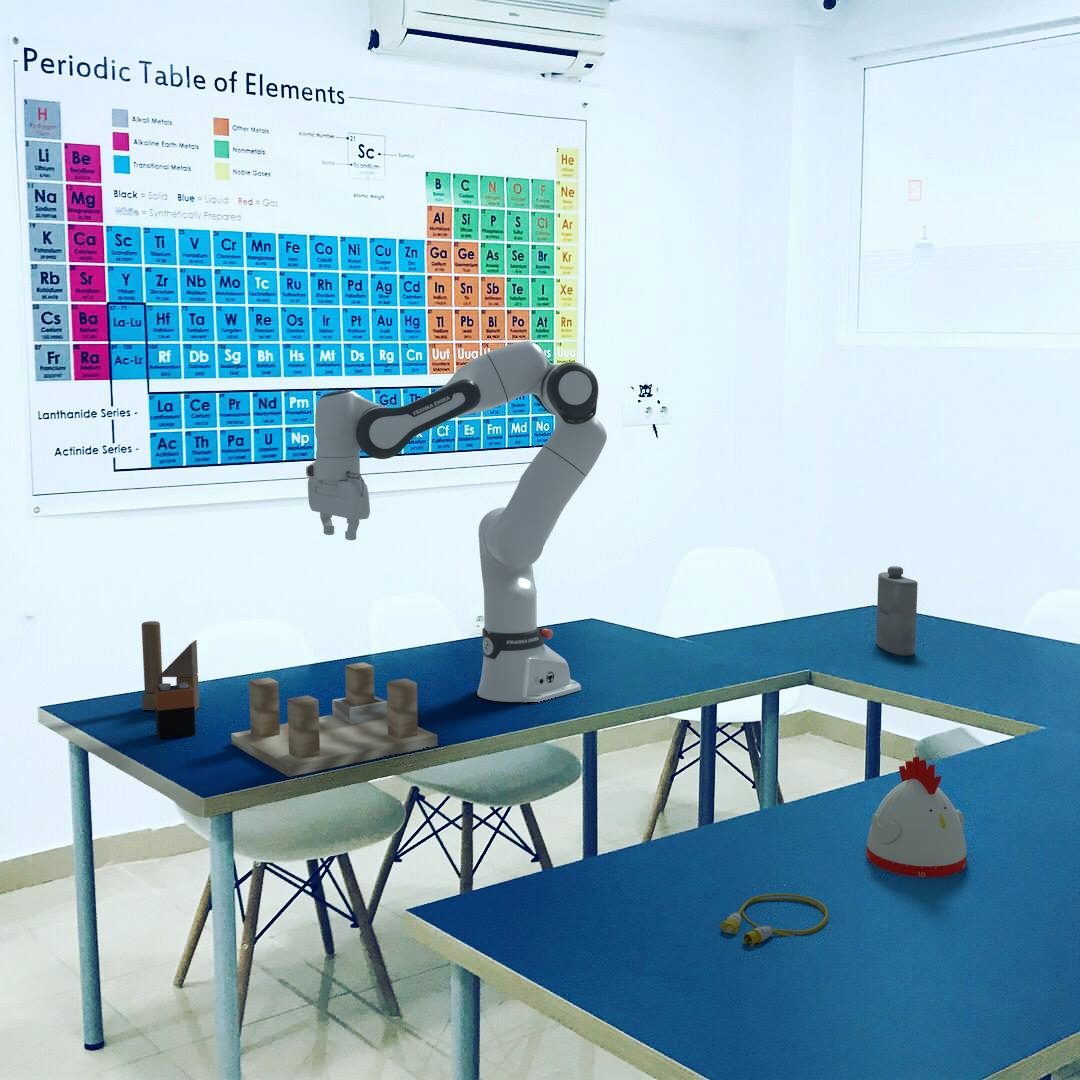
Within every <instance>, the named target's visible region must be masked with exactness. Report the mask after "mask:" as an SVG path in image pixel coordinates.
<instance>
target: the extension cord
mask: <svg viewBox="0 0 1080 1080" xmlns="http://www.w3.org/2000/svg"><path fill="white" fill-rule="evenodd" d="M778 900H779V901H780V900H781V901H782V900H783V901H784V900H785V901H786V900H787V901H797V902H802V903H803V902H804V903H806V904H810V905H813V906H814V907H816V908H817V909H818V910H820V911H821V912H822V913H823V914H824V918H823V920H821V922H820V923H818V924H817V925H816V926H813V927H811V928H807V929H803V930H802V929H801V930H794V929H776V928H773V927H772V926H770V925H766V924H763V925H762V926H760V925H758V924H757V923H755V922H754V921H752V920H750V919H749V918H748V916H747V915H746V914H745V911H744V910H745V908H746V907H747V905H749V904H752V903H755V902H762V901H763V902H764V901H778ZM742 918H743V919H745V921H747V922H748V923H749V924H751V925H752V926H753V927H755V928H753V929H751V930H750V931H749V932H746V933H744V934H743V936H742V937H743V938H742V939H743V942H744V944H745V945H748V944H749V946H751V947H753V946H755V944H761V943H762V942H765V941H766V940H767V939H768V938H769V937H771V936H773V935H774V934H776V935H779V936H783V937H794V936H796V935H807V934H813V933H815V932H817V931H819V930H820V929H821V928H823V927H824V926H826V924H827V922H829V911H828V908H827V907H826V905H825V904H824V903H822V902H821V901H819V900H817V899H815V898H812V897H809V896H804V895H799V894H793V893H769V894H768V893H767V894H761V895H756V896H754V897H751V898H750V899H748V900H746V901H745V902H744V903H743V904H742V906H741V907H740V909H739V911H738V912H733V913H730V914H729V916H727V919H726V920H723V921H722V922H721V924H720V928H721V929H722V931H723V933H726V934H732V935H737V933H738V932H739V930H740V927H741V924H742ZM791 933H792V934H791Z"/></svg>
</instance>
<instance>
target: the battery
mask: <svg viewBox="0 0 1080 1080" xmlns="http://www.w3.org/2000/svg"><path fill="white" fill-rule="evenodd" d="M154 712H155V729H156V730H155V731H156V734H157V736H158V738H159V739H161V740H164V739H163V738H167V739H173V738H172V737H176V738H181V737H182V736H184V737H191V735H192V736H195V735H196V733H197V732H196V731H197V730H196V728H197V727H196V710H195V704H194V690H193V688H192V687H191V686H190V685H188V683H185V682H184V683H179V685H171V683H166V682H165V683H164V682H163V684H160V687H158V688H155V711H154ZM182 738H183V737H182Z"/></svg>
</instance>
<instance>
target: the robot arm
mask: <svg viewBox="0 0 1080 1080" xmlns="http://www.w3.org/2000/svg"><path fill="white" fill-rule="evenodd" d="M527 395H532V396H533V398H534V399H535V400H536V401H537V402H538V403H539V405H540V406H541V407H542V408H543V409H544V411H547V412H548V413H549V414H550V415H553V416H555V417H556V418H555V419H556V422H555V427H554V429H553V431H552V432H551V434H550V436H549V438H548V439H547V440H546V442H545V443H544V444H543V446H542V447H541V449H540V450H539V451H538V453H537V454H536V455H535V456H534V458H533V459H532V461H531V463H529V465H528V466H527V468H526V469H525V470H524V472H523V473H522V475H521V477H520V479H519V482H518V484H517V485H516V488H515V490H514V492H513V494H512V496H511V498H510V500H509V501H508V503H507V506H506V507H504V506H503V507H497V508H495V509H492V510H490V511H488V512H487V513H486V514H485V515H484V516H483V517H482V518H481V520H480V523H479V526H478V532H477V533H478V543H479V557H480V558H479V559H480V569H481V579H482V585H483V614H484V615H483V617H484V618H483V620H484V622H483V623H484V625H483V628H482V635H481V637H482V638H481V639H482V641H481V642H482V643H481V645H482V654H483V660H482V668H481V674H480V675H481V677H480V682H479V686H478V690H477V691H476V693H477V694H476V695H477V696H478V697H479V698H482V699H485V700H490V701H492V702H493V701H495V702H504V703H505V702H506V703H527V702H538V703H541V702H540V701H542V702H544V701H543V700H545V701H549V700H552V699H555V697H556V698H558V697H563V696H565V695H570V694H572V693H575V692H579V691H581V690H582V686H581V684H580V683H579V682H578V681H576V680H575V679H572V678H571V674H570V672H571V671H570V668H569V664H568V662H567V661H566V659H565V658H563V656H561V655H560V654H558V653H557V652H555V651H554V650H553V649H551V647H549V646H548V645H546V644H545V642H544V639H543V638H545V639H547V640H550V639H552V637H553V636H554V632H553V630H552V629H550V628H549V629H548V628H540V627H539V626H538V625H537V624H538V623H537V622H538V619H537V618H538V616H537V615H538V612H537V611H538V607H537V606H538V603H537V601H538V600H537V597H538V596H537V591H538V590H537V587H536V582H535V577H534V576H535V574H534V569H533V564H534V563H535V562H537V561H538V560H539V558H540V557H541V555H542V554H543V550H544V546H545V544H546V543H547V541H548V539H549V538H550V536H551V533H553V530H554V529H555V526H556V524H557V522H558V520H559V518H560V516H561V514H562V513H563V511H564V509H565V508H566V506H567V504H568V503H569V502H570V500H571V498H572V497H573V496H574V495H575V493H576V492H577V491H578V489H579V488H580V486H581V485H582V484H583V482H584V481H585V480H586V479H587V478H586V477H587V476H588V475H589V474H590V472H591V471H592V469H593V467H594V466H595V464H596V463H597V461H598V459H599V457H600V455H601V454H602V451H603V450H604V447H605V444H606V442H607V440H608V439H607V438H608V437H607V436H608V435H607V431H606V429H605V426H604V425H603V423H601V421H599V419H598V418H596V417H595V416H596V414H597V408H598V407H597V406H598V399H599V383H598V379H597V377H596V374H595V373H594V372H593V371H592V370H591V368H589V367H588V366H587V365H585V364H584V363H583V364H582V363H579V362H575V361H572V362H570V361H569V362H563V363H559V364H554V363H553V362H552V363H551V362H550V361H549V359H548V358H547V356H546V354H545V352H544V350H543V349H542V348H541V347H540V346H539V345H538V344H537V343H535V342H533V341H530V340H524V341H518V342H515V343H510V344H507V345H504V346H501V347H498V348H495V349H493V350H490V351H487V352H486V353H484V354H483V353H482V355H479V356H477V357H475V358H474V359H472V360H470V361H468V362H467V363H466V364H464V365H462V366H461V367H459V368H458V369H457V370H456V372H454V373H453V375H452V376H451V378H450V379H449V380H448V382H446V383H445V384H444V385H443V386H441V387H440V388H438V389H436V390H435V391H434V392H431V393H429V394H427V395H424V396H422V397H421V398H418V399H417V400H414V401H412V402H409V403H408V404H405V405H401V406H398V407H389V406H385V405H382V404H379V403H376V402H374V401H371V400H369V399H367V398H365V397H364V396H362V395H359V394H358V393H357V392H355V391H354V390H352V389H341V390H336V391H330V392H328V393H327V392H326V393H324V394H323V395H322V396H320V397H319V398H318V400H317V402H316V405H315V417H314V418H315V419H314V425H315V426H314V430H315V432H314V435H315V438H316V441H317V449H316V452H315V460H314V461H313V462H312V463H310V464H309V465H307V466H306V468H305V474H306V477H308V480H307V495H308V505H309V508H310V509H311V511H312V512H317V513H319V518H320V521H321V523H322V527H323V534H324V535H326V536H333V535H335V525H333V521H332V518H333V516H334V517H338V518H339V517H340V518H344V519H346V524H348V525H347V528H346V530H345V531H344V534H345V536H344V538H345V539H346V540H347V541H355V540H357V530H358V528H359V525H360V520H368V518H369V516H370V514H371V509H370V508H371V507H370V505H371V504H370V495H369V488H368V485H367V484H366V482H365V479H363V477H362V474H361V465H360V464H361V463H360V462H361V460H360V459H361V458H360V454H361V451H362V452H364V453H365V454H366V455H367V456H369V457H370V458H374V459H377V460H378V459H379V460H387V459H392V458H393V457H395V456H397V455H398V454H400V453H401V452H402V451H403V450H404V449H405V447H407V445H408V444H409V443H410V442H411V441H412V439H413V438H416V436H418V435H420V434H422V433H424V432H426V431H428V430H431V429H432V428H435V427H437V426H438V425H439V426H440V425H442V424H443V423H445V422H448V421H450V420H452V419H454V418H457V417H462V416H463V417H464V416H466V415H471V414H472V415H473V414H477V413H481V412H485V411H490V410H494V409H495V408H496V409H497V408H498V407H500V406H503V405H506V404H507V403H510V402H512V401H514V400H516V399H519V398H521V397H524V396H527ZM551 698H552V699H551ZM548 699H549V700H548Z"/></svg>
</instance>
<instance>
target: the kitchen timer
mask: <svg viewBox="0 0 1080 1080" xmlns="http://www.w3.org/2000/svg"><path fill="white" fill-rule="evenodd" d="M898 770H899V771H898V772H899V775H900V779H901V782H900V783H899V784H897V785H896V786H894V788H893V787H892V789H891V790H890V791H889V792H888V793H887V794H886V795H885V796H884V798H883V799H882V800H881V803H880V804H879V805H878V808H877V809H876V810H875V813H872V815H871V825H870V828H869V831H868V836H867V841H866V851H865V852H866V854H865V855H866V858H867V859H868V861H869V862H870V863H871V864H873V865H874V866H876V867H878V868H880V869H882V870H885V871H886V872H887V871H888V872H890V873H894V874H897V875H902V876H907V877H908V876H909V877H913V878H915V877H918V878H940V877H941V878H942V877H947V876H952V875H956V874H958V873H959V872H962V871H964V869H965V868H966V866H967V843H966V837H965V834H964V831H963V829H964V826H965V818H964V816H963V813H962V812H961V810H960V809H956V808H955V806H954V804H953V803H952V802H951V800H950V799H949V798H948V796H947V795H946V793H944V791H943V790H942V789H941V788H940V787H939V785H940V782H941V780H942V775H938V776H936V765H935V764H930V765H929V764H928V765H927V759H926V758H925V759H920V756H914V757H913V758H912V760H906V761H905V765H900V766H898Z"/></svg>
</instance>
